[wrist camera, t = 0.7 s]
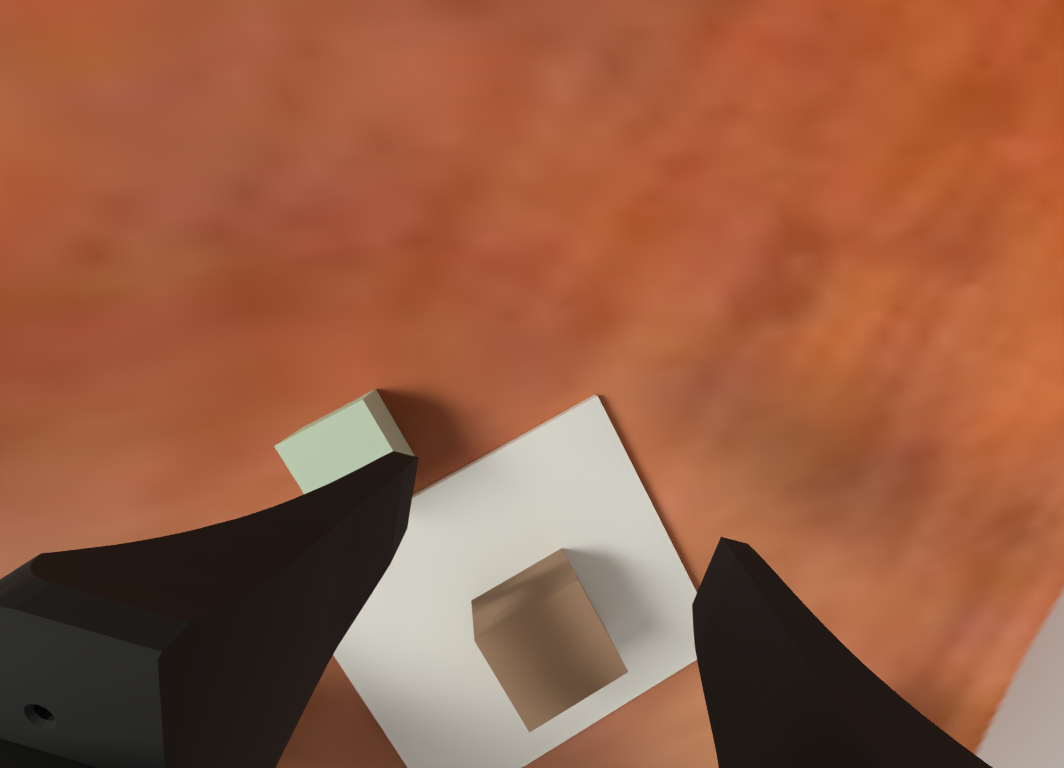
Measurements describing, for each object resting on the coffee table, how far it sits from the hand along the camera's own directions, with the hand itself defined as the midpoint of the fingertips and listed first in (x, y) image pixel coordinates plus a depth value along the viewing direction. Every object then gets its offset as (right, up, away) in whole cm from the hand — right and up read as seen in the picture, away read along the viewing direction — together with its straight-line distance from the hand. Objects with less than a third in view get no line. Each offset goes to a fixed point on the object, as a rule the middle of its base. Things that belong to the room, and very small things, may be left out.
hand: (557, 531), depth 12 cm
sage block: (-10, 0, +17) cm, 20 cm away
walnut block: (0, -10, +19) cm, 21 cm away
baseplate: (-2, -10, +19) cm, 22 cm away
